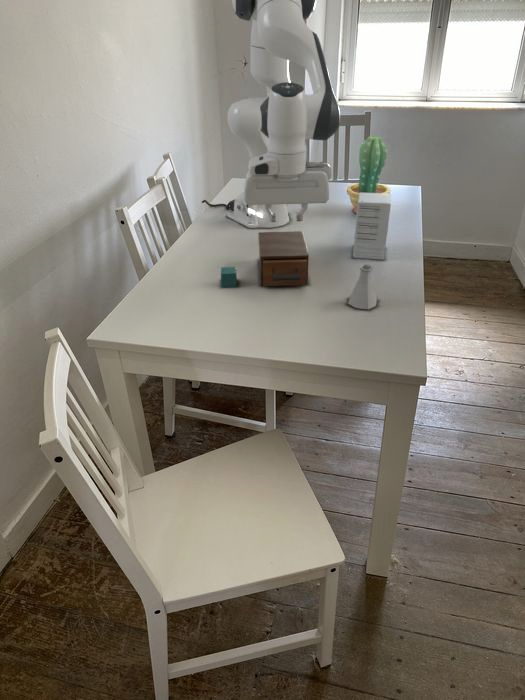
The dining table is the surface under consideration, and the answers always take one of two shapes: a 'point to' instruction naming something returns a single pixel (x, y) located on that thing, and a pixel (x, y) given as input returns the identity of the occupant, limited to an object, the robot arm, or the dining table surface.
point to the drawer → (284, 271)
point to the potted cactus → (369, 170)
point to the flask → (363, 290)
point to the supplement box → (371, 225)
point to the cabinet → (281, 247)
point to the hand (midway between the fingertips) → (286, 220)
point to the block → (228, 277)
